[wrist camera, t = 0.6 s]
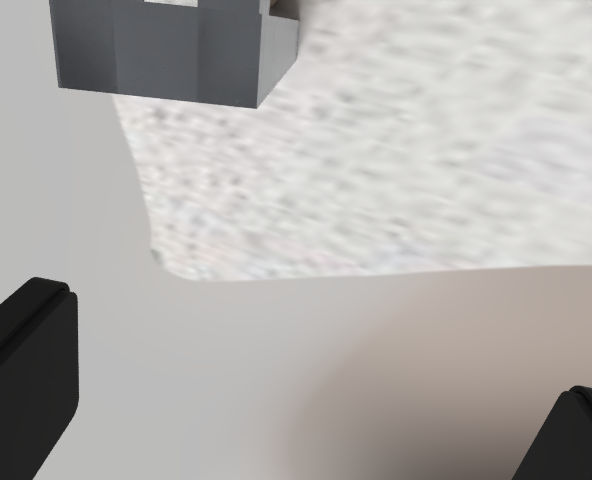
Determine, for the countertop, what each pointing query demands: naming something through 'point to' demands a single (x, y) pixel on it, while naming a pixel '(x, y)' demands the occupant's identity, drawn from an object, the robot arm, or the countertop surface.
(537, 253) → the countertop surface
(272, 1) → the cradle
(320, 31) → the countertop surface
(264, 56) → the frame
